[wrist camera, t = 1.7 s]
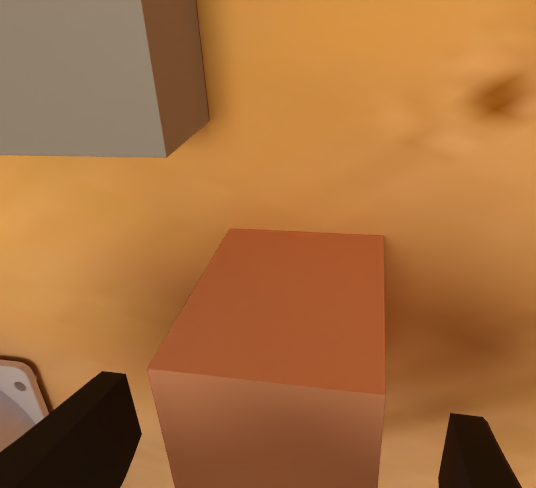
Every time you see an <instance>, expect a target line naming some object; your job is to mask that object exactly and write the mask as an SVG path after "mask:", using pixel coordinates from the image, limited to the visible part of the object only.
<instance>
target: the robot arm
mask: <svg viewBox="0 0 536 488" xmlns="http://www.w3.org/2000/svg"><path fill="white" fill-rule="evenodd" d="M141 435H142V433H141V429H140V426H139V422H138V418H137V414H136V411H135V407H134V403H133V399H132V396H131V392H130V388H129V384H128V381H127V377H126V374H121V373H113V372H104V371H102V372H101V373H99V374H98V375H97V376H96V377H94V378H93V379H92V380H90V381H89V382H88V383H87V384H85V385H84V386H83V387H82V388H80V389H79V390H78V391H77V392H76V393H74V394H73V395H72V396H71V397H69V398H68V399H67V400H66V401H65V402H63V403H62V404H61V405H60V406H58V407H57V408H56V409H55V410H53V411H52V412H51V413H50V414H49V412H48V410H47V407H46V404H45V402H44V399H43V397H42V394H41V392H40V389H39V386H38V384H37V381H36V379H35V376H34V374H33V371H32V370H31V368H30V367H29V366H28V365H26V364H25V363H22V362H17V361H9V360H0V488H120V487H121V485H122V483H123V481H124V479H125V477H126V474H127V472H128V469H129V467H130V464H131V462H132V459H133V457H134V454H135V451H136V448H137V446H138V443H139V440H140V437H141ZM438 480H439V488H522V487H521V485H520V483H519V482H518V480H517V478H516V476H515V474H514V473H513V471H512V469H511V467H510V465H509V464H508V462H507V460H506V458H505V456H504V454H503V452H502V450H501V449H500V447H499V445H498V443H497V441H496V439H495V437H494V435H493V433H492V431H491V429H490V426H489V424H488V422H487V421H486V420H485V419H484V418H483V417H478V416H470V415H462V414H453V413H450V418H449V423H448V429H447V434H446V439H445V445H444V450H443V456H442V461H441V466H440V472H439V477H438Z"/></svg>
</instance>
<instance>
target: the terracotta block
mask: <svg viewBox="0 0 536 488" xmlns="http://www.w3.org/2000/svg"><path fill="white" fill-rule="evenodd" d="M147 370H148V375H149V379H150V383H151V387H152V392H153V396H154V400H155V405H156V409H157V413H158V417H159V422H160V426H161V430H162V434H163V439H164V443H165V447H166V451H167V456H168V460H169V464H170V468H171V473H172V477H173V481H174V485H175V488H377V487H378V475H379V464H380V453H381V442H382V431H383V420H384V409H385V398H386V379H385V295H384V236H379V235H357V234H336V233H314V232H293V231H271V230H250V229H229V231H228V233H227V234H226V236H225V238H224V239H223V241H222V243H221V245H220V246H219V248H218V250H217V251H216V253H215V255H214V256H213V258H212V260H211V261H210V263H209V265H208V267H207V268H206V270H205V272H204V273H203V275H202V277H201V278H200V280H199V282H198V283H197V285H196V287H195V289H194V290H193V292H192V294H191V295H190V297H189V299H188V300H187V302H186V304H185V305H184V307H183V309H182V311H181V312H180V314H179V316H178V317H177V319H176V321H175V322H174V324H173V326H172V327H171V329H170V331H169V333H168V334H167V336H166V338H165V339H164V341H163V343H162V344H161V346H160V348H159V349H158V351H157V353H156V355H155V356H154V358H153V360H152V361H151V363H150V365H149V366H148V368H147Z"/></svg>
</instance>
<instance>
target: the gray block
mask: <svg viewBox="0 0 536 488" xmlns="http://www.w3.org/2000/svg"><path fill="white" fill-rule="evenodd" d="M207 122H209V114H208V105H207V96H206V87H205V78H204V70H203V61H202V52H201V43H200V34H199V25H198V16H197V7H196V0H0V155H28V156H91V157H153V158H167V157H168V156H169V155H170V154H171V153H173V152H174V151H175V150H176V149H177V148H178V147H180V146H181V145H182V144H183V143H184V142H185V141H187V140H188V139H189V138H190V137H191V136H192V135H194V134H195V133H196V132H197V131H198V130H199V129H200V128H202V127H203V126H204V125H205V124H206V123H207Z"/></svg>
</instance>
